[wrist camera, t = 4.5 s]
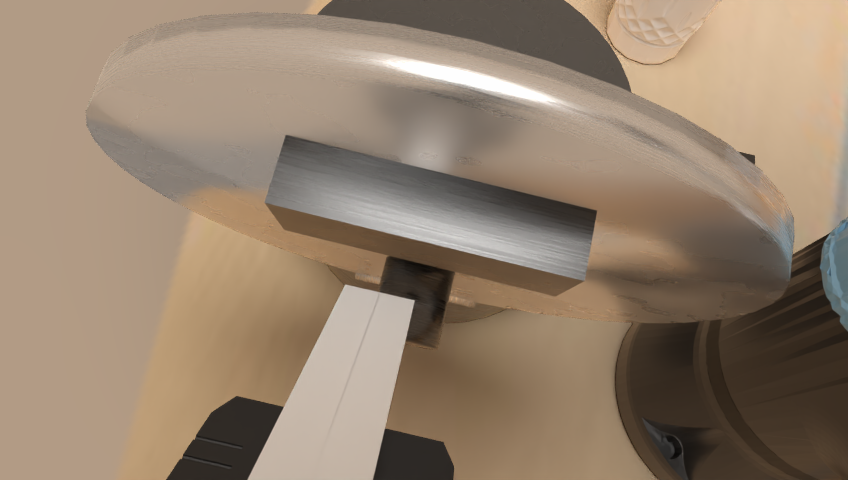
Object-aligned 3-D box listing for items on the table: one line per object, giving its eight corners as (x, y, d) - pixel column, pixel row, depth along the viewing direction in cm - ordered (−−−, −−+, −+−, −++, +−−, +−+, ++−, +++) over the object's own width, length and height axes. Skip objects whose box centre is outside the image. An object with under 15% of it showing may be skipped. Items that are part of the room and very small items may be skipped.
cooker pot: (675, 137, 49) (764, 34, 38) (658, 380, 41) (765, 338, 30) (346, 57, 50) (340, -68, 39) (266, 283, 42) (230, 207, 31)
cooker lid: (1071, 173, 10) (1074, 441, 9) (617, 313, 31) (603, 399, 30) (-112, -113, 10) (-236, 119, 9) (226, 217, 31) (198, 300, 30)
